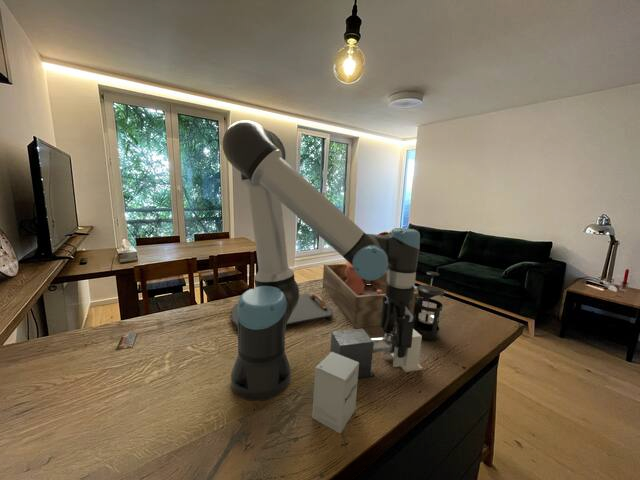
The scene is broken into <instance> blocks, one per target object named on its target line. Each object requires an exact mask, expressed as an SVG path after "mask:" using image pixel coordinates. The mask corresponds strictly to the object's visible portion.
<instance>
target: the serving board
mask: <svg viewBox="0 0 640 480" xmlns="http://www.w3.org/2000/svg"><path fill="white" fill-rule="evenodd" d="M237 307H238V303H237V304H236V303H235V304H234V305H233V307H232V309H231V310H230V319H231V322H232V323H233V324H234V325H235V326H236V327H237V328H238V321H237ZM332 316H333V310H332V308H331V306H330V305H329V304H328V303H327V302H326V301H325V300H324V299H323V297H321V295H319V294H318V293H313V294H310V293H302V294H301V293H300V294H299V299H298V303H297V305H296V307H295V308H294V310H293V312H292V314H291V316H290V318H289V320H288V322H287V324H286V326H288V325H293V324H298V323H301V322H302V323H304V322H308V321H312V320H313V321H314V320H318V319H322V318H323V319H324V318H325V320H330V319H331V318H332Z"/></svg>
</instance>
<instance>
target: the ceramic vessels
mask: <svg viewBox="0 0 640 480" xmlns="http://www.w3.org/2000/svg"><path fill="white" fill-rule="evenodd" d="M345 264H346V266H347V267H348V268H346V269H345V276H346V277H347V278H348V279H346V281H345V283H346V284H347V285H348V286H349V287H350V288H351V289H352V290H353V291H354V292H355V293H356V294H357V295H358V296H359V295H362V293H363V292H364V291H365V286H364V282H363V281H362V278H361V277H359V276H358V275H357V274H356V272H355V270H354V269H353V266H352V265H351V264H350V263H349V262H348V261H347V260H346V263H345ZM376 294H382V290H376Z"/></svg>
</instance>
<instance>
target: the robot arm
mask: <svg viewBox="0 0 640 480" xmlns="http://www.w3.org/2000/svg"><path fill="white" fill-rule="evenodd" d="M222 138H223V139H222V150H223V154H224V155H225V158H226V160H227V161H228V163H230V165H231V166H232V167H234V168H235V170H237V171H239V172H240V177H241V178H240V179H241V182H242V184H244V185H245V186H246V187H247V188H248V195H249V203H250V210H251V218H252V226H253V227H252V228H253V235H254V243H255V251H256V258H257V259H256V260H257V266H258V267H257V269H258V271H257V272H256V273H255V275H254V278H253V280H254V288H249V289H247V290H246V291H244V292H243V293H242V294H241V295H240V296H239V299H238V300H237V304H238V307H237V321H238V327H237V356H236V359H235V361H234V364H233V367H232V370H231V373H230V374H231V375H230V386H231V389H232V391H233V392H234V394H236V395H237V396H238V397H240V398H241V399H244V400H249V401H264V400H269V399H272V398H275V397H277V396H279V395H280V394H282V393H283V392H284V391H285V390H286V389H288V387H289V384H290V383H291V379H292V378H291V377H292V375H291V372H292V371H291V370H292V369H291V366H290V362H289V359H288V357H287V353H286V350H285V349H286V348H285V347H286V326H287V325H286V324H287V322H288V320H289V318H290V316H291V314H292V312H293V310H294V308H295V307H296V305H297V303H298V299H299V295H300V287H299V285H298V283H297V281H296V280H295V272H294V271H293V269H292V268H290V267H289V263H288V253H287V242H286V235H285V234H286V233H285V224H284V223H285V222H284V215H283V205H284V206H285V207H287V208H288V209H289V210H290V211H291V212H292V213H293V214H294V215H295V216H297V218H299V219H300V220H301V221H302V222H303V223H305V225H307V226H308V227H309V228H310V229H311V230H312V231H313V232H314V233H315V234H316V235H318V236H319V237H320V238H321V239H322V240H323V241H324V242H325V243H327V244H328V245H329V246H330V247H331V248H332V249H334V250H335V251H336V252H337V253H338V254H339V255H341V256H342V257H343V258H344V259H345V261H346V262H347V261H348V262H349V263H350V264H351V265H352V266H353V269H354V270H355V272H356V274H357V275H358V276H359V277H361V278H362V279H365V280H376V279H379V278H380V277H382V276H383V275H384V274H385V272H386V271H388V273H387V282H388V283H387V284H386V297H383V309H382V318H381V325H380V327H381V328H382V329H383V330H382V331H383V333H384V334H383V337H386V336H387V335H388V334H393V333H394V332H396V331H397V344H395V349H394V358H393V357H392V367H394V368H397V367H400V366H403V358H404V355H405V348H411V344H412V335H413V325H414V321H415V319H416V315H415V314H411V313H410V311H409V309H410V308H409V302H410V301H411V300H413V296H414V288H415V285H416V277H417V275H416V274H417V269H418V268H417V267H418V261H419V253H420V249H421V247H420V245H421V244H420V243H421V234H420V232H419V230H417V229H414V228H413V229H412V228H407V227H406V228H405V227H394V228H393V229H392V230H391V232H390V234H374V233H373V234H372V233H366V232H365V231H363V230H362V229H361V228H360V227H359V226H358V225H357V224H356V223H354V222H353V220H351V219H350V218H349V217H348V216H347V215H346V214H345V213H343V212H342V210H341V209H340V208H338V207H337V206H336V205H335V204H333V203H332V202H331V200H330V199H328V198H327V197H326V196H325V195H324V194H322V192H320V191H319V190H318V189H317V188H316V187H315V186H313V185H312V183H310V181H308V180H307V179H306V178H305V177H304V176H302V174H301V173H299V172H298V171H297V170H296V169H295V168H294V167H293V166H292V165H290V164H289V163H288V162H287V161H286V158H287V157H286V155H287V154H286V153H287V152H286V148H285V145H284V144H283V142H282V140H281V139H280V138H279V137H278V136H277V135H276V134H275V133H274V132H272V131H270V130H268V129H266V128H265V127H264V126H263V125H261V124H260V123H258V122H255V121H253V120H247V119H246V120H245V119H244V120H239V121H236V122H234V123H232V124H231V125H229V127H228V128H227V129H226V130H225V133H224V135H223V137H222ZM282 204H283V205H282ZM395 321H396V324H395ZM384 322H385V323H384ZM395 325H396V326H395ZM394 327H395V329H394ZM382 354H383V355H390V354H392V353H391V352H389V351H387V352H382Z"/></svg>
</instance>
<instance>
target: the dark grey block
mask: <svg viewBox="0 0 640 480" xmlns="http://www.w3.org/2000/svg"><path fill="white" fill-rule="evenodd" d="M371 338H372V337H370V336H369V334H368V333H367V332H366V331H365V329H363V328H353V329H344V330H334V331H331V338H330V339H331V340H330V352H334V353H336V354H339V355H342V356H344V357H347V358H349V359H352V360H354V361H357V362H359V370H358V380H363V379H370V378H375V376H376V375H375V373H374V371H373V370H372V363H373V354H374V353H373V343H374V342H373V340H372V339H371Z"/></svg>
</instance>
